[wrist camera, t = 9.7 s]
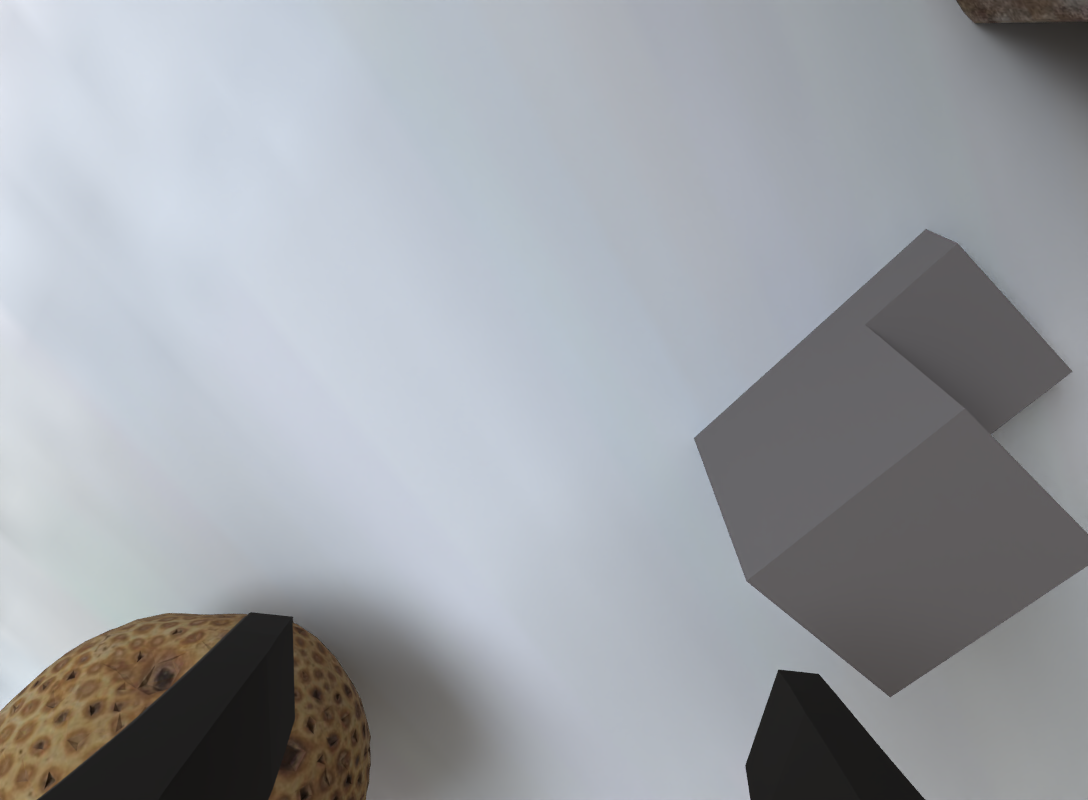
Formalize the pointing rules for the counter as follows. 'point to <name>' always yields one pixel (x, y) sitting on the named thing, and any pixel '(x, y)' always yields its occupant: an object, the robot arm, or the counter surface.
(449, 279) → the counter surface
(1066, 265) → the counter surface
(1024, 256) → the counter surface
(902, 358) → the stepped grey block
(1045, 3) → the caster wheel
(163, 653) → the natural sponge
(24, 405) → the counter surface
